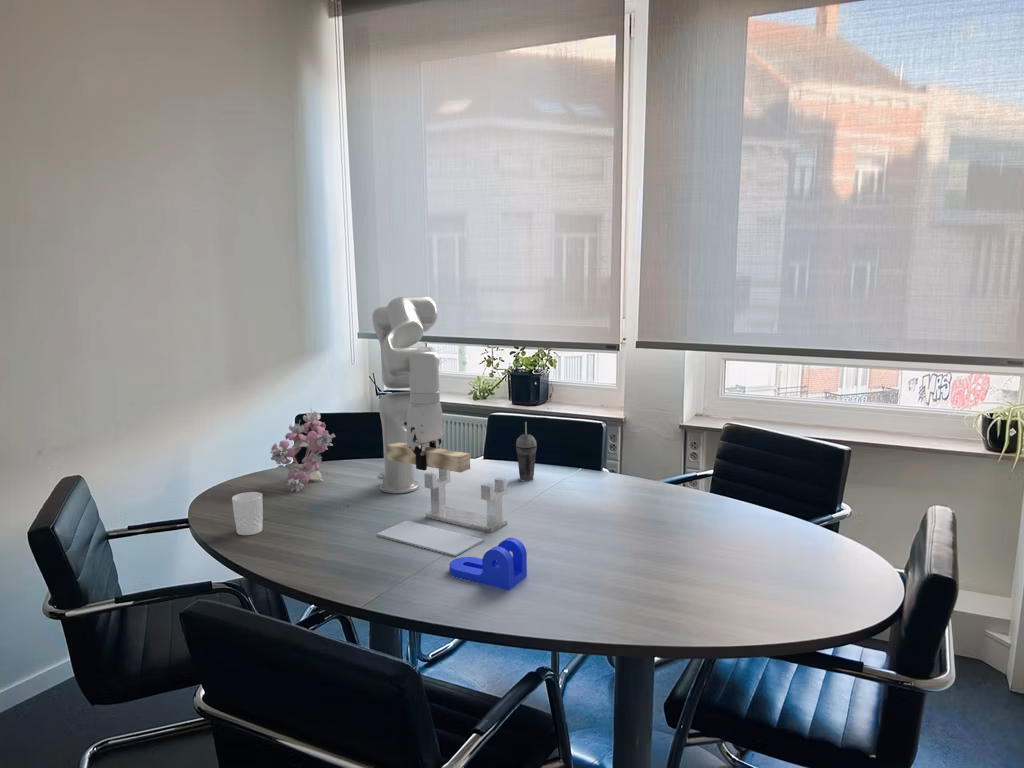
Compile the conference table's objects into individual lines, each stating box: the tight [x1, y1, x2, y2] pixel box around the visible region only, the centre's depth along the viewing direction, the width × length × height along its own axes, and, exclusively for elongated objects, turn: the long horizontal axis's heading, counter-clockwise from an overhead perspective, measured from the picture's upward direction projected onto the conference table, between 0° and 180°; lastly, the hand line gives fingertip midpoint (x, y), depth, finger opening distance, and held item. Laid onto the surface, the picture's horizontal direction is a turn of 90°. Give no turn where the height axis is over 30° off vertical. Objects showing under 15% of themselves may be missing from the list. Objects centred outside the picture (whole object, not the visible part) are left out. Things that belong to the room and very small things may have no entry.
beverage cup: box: [515, 421, 538, 482], centre depth 244 cm, size 7×7×20 cm
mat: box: [376, 520, 485, 557], centre depth 193 cm, size 27×12×1 cm, turn 56°
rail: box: [386, 442, 471, 474], centre depth 190 cm, size 25×4×4 cm, turn 56°
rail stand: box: [423, 469, 508, 533], centre depth 205 cm, size 23×8×13 cm, turn 56°
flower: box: [270, 407, 336, 493], centre depth 241 cm, size 20×22×25 cm
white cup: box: [231, 491, 264, 536], centre depth 200 cm, size 8×8×10 cm
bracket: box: [448, 536, 528, 591], centre depth 169 cm, size 18×8×9 cm, turn 61°
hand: (427, 466), depth 190 cm, fingers closed on rail, 4 cm apart
